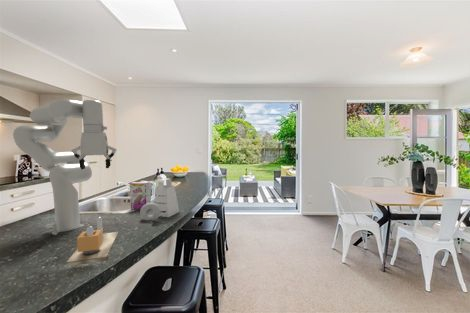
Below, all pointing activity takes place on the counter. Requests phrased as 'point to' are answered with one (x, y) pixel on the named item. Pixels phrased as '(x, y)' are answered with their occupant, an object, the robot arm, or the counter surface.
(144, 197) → the candy bar box
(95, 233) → the collar
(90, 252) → the metal peg
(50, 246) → the counter surface
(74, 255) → the board
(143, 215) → the donut
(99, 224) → the stand rod
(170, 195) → the grater
